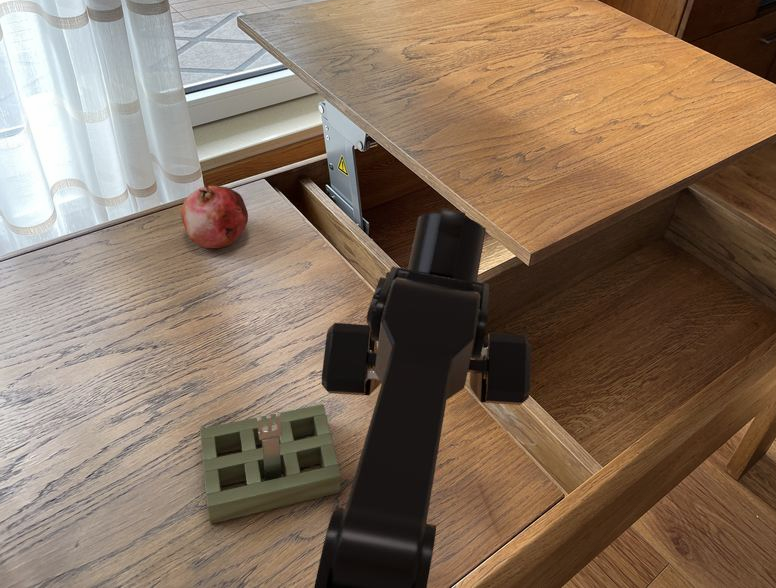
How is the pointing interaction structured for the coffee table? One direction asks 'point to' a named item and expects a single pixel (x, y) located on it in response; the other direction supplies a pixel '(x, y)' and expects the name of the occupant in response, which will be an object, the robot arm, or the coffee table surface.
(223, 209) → the fruit
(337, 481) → the rack
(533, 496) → the coffee table surface
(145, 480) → the coffee table surface
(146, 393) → the coffee table surface
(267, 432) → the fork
